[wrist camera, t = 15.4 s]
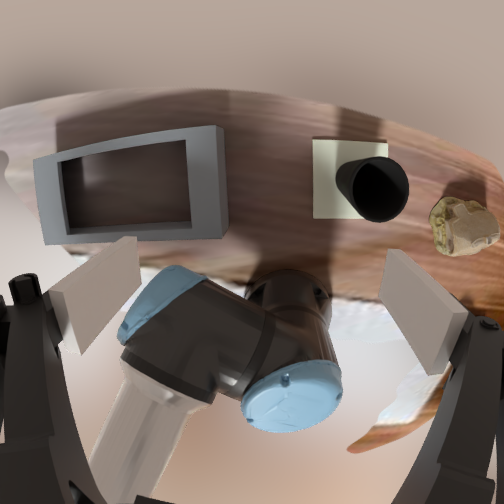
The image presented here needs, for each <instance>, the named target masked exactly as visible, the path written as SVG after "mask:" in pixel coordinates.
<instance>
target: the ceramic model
mask: <svg viewBox="0 0 504 504" xmlns="http://www.w3.org/2000/svg"><path fill="white" fill-rule="evenodd" d="M429 223H430V225H431V227H432V230H433V234H434V243H435V247H436V249H437V250H438V251H439V252H441V253H443V254H445V255H446V254H447V255H449V256H454V257H455V256H459V255H466V254H467V255H471V254H475V253H478V252H479V251H480V250H482V249H484V248H486V247H488V246H490V245H492V244H494V243H495V242H496V241H498V240H499V238H500V227H499V224H498V221H497V220H496V217H495V216H494V215H493V214H492V213H491V212H489V211H488V210H487V209H486V207H482V206H481V205H480V204H479V203H478V202H476V201H474V200H471V201H464V200H460V199H457V198H455V197H444V198H442V199H441V200H440V201H439V203H438V204H437V205H436V206H435V207H434V208H433V210H432V211H431V214H430V217H429Z"/></svg>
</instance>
